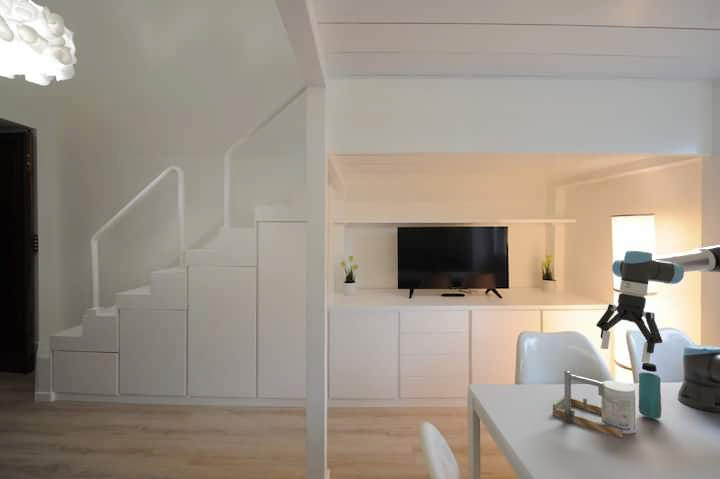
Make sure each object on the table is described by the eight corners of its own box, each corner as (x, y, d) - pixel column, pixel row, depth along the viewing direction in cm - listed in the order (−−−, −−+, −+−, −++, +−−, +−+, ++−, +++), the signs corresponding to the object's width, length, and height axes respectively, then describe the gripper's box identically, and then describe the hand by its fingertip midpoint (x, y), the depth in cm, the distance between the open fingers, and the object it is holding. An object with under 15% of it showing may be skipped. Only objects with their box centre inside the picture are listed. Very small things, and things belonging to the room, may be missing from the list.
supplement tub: (611, 418, 129) (611, 378, 129) (641, 431, 120) (641, 388, 120) (595, 424, 124) (595, 382, 124) (625, 438, 116) (625, 393, 116)
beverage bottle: (665, 424, 125) (665, 367, 125) (644, 422, 126) (644, 366, 126) (654, 415, 131) (654, 361, 131) (634, 413, 133) (634, 360, 133)
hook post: (604, 433, 118) (604, 380, 119) (603, 435, 117) (603, 381, 117) (565, 420, 127) (565, 370, 128) (563, 421, 126) (563, 371, 126)
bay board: (632, 423, 125) (632, 411, 125) (621, 438, 115) (621, 426, 115) (567, 402, 141) (567, 392, 141) (552, 414, 131) (552, 404, 131)
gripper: (590, 287, 133) (582, 343, 133) (667, 300, 110) (657, 368, 109) (604, 289, 136) (596, 344, 135) (681, 302, 112) (672, 368, 112)
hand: (623, 355), depth 122 cm, fingers open, 13 cm apart
